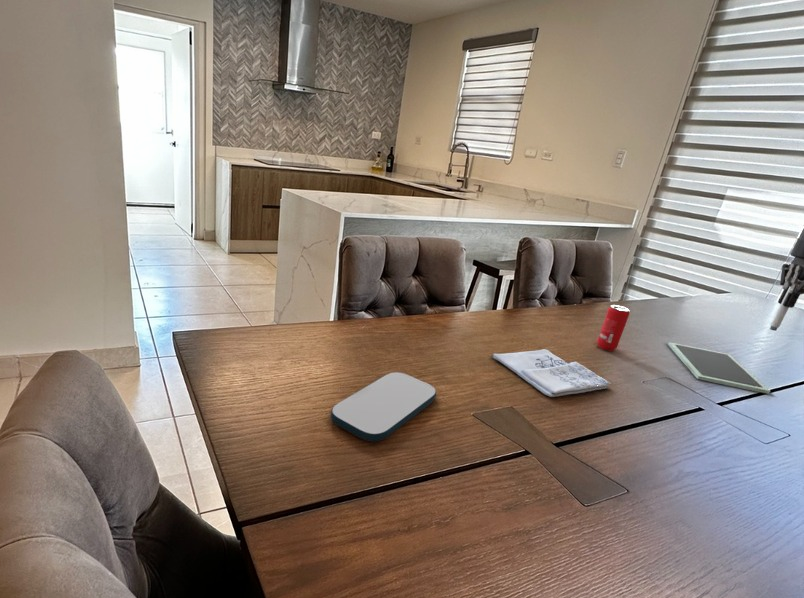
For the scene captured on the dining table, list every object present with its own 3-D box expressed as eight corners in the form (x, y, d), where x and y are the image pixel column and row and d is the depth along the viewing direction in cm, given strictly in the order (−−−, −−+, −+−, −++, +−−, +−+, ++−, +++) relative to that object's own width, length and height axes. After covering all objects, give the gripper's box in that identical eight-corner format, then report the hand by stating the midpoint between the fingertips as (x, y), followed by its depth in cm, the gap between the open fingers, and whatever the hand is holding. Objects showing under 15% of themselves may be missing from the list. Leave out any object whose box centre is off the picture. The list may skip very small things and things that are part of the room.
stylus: (775, 329, 127) (796, 287, 122) (778, 331, 125) (800, 289, 121) (767, 327, 127) (788, 285, 123) (770, 330, 126) (792, 287, 121)
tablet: (728, 356, 137) (729, 353, 136) (769, 394, 116) (770, 390, 116) (667, 344, 140) (669, 341, 140) (697, 379, 119) (699, 375, 119)
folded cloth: (550, 400, 100) (553, 391, 100) (489, 357, 117) (491, 349, 116) (611, 389, 108) (614, 381, 107) (546, 351, 125) (548, 343, 124)
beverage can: (592, 342, 135) (606, 303, 130) (610, 344, 135) (624, 305, 130) (600, 350, 130) (615, 310, 125) (619, 352, 130) (634, 312, 125)
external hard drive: (375, 449, 78) (376, 439, 77) (322, 420, 84) (323, 410, 83) (440, 398, 96) (442, 389, 95) (393, 376, 102) (394, 368, 101)
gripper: (854, 248, 110) (817, 316, 117) (818, 238, 122) (786, 300, 129) (816, 243, 112) (782, 310, 118) (784, 233, 124) (755, 295, 131)
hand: (785, 305), depth 124 cm, fingers closed on stylus, 2 cm apart
